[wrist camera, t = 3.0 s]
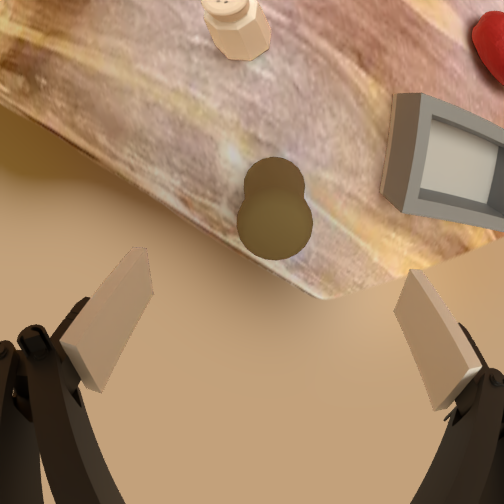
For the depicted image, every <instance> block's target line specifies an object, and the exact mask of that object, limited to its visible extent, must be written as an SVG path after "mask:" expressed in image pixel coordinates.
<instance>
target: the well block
mask: <svg viewBox="0 0 504 504" xmlns="http://www.w3.org/2000/svg"><path fill="white" fill-rule="evenodd" d="M379 192H380V193H381V194H382V195H383V196H384V197H385V198H386V199H387V200H389V201H390V202H391V203H392V204H393V205H394V206H395V207H396V208H397V209H398V210H399V211H400V212H401V213H405V214H411V215H417V216H423V217H429V218H435V219H441V220H446V221H452V222H457V223H462V224H467V225H472V226H477V227H482V228H487V229H491V230H496V231H500V232H504V129H503V128H501V127H499V126H497V125H495V124H493V123H492V122H490V121H488V120H486V119H484V118H482V117H479V116H477V115H475V114H473V113H471V112H469V111H466V110H464V109H462V108H460V107H457V106H455V105H452V104H450V103H447V102H445V101H442V100H440V99H437V98H434V97H432V96H429V95H426V94H423V93H402V94H393V99H392V110H391V119H390V128H389V136H388V143H387V150H386V156H385V163H384V169H383V174H382V180H381V185H380V191H379Z"/></svg>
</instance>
